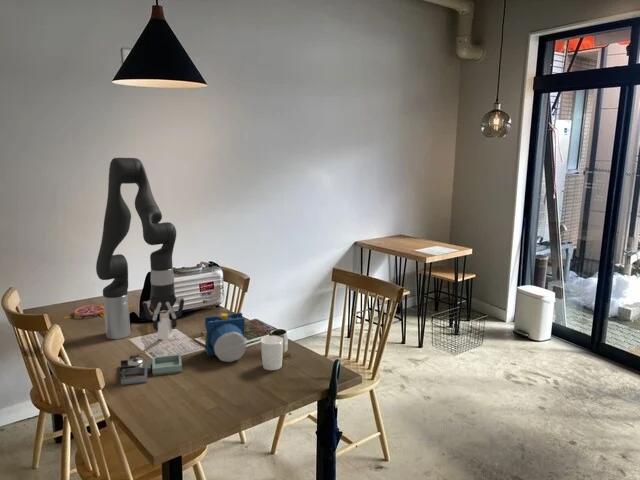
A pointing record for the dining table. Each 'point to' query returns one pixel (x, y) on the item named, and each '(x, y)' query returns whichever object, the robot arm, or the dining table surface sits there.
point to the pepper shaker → (165, 326)
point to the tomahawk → (147, 348)
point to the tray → (167, 364)
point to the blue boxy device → (225, 336)
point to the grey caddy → (134, 370)
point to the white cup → (272, 352)
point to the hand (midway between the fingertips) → (165, 328)
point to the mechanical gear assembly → (90, 311)
